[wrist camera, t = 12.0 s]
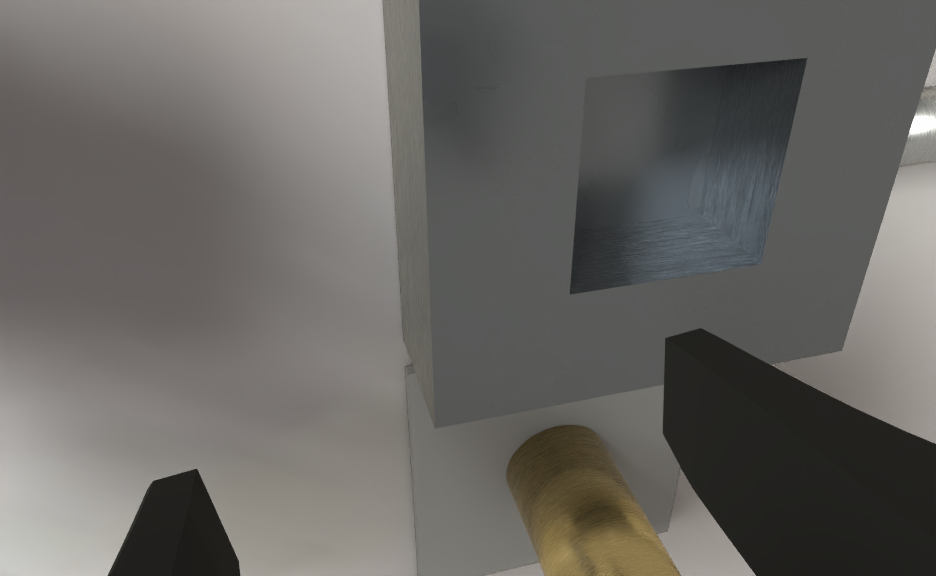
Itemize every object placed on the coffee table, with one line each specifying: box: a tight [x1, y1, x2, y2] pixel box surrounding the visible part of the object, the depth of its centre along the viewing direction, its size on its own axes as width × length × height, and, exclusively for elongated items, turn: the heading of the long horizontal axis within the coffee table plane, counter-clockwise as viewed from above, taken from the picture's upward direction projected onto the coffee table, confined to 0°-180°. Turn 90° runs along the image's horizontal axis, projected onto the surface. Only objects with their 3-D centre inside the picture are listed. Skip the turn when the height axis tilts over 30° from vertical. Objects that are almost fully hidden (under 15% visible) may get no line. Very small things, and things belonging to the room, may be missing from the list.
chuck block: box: [383, 0, 936, 429], centre depth 20 cm, size 20×12×4 cm, turn 90°
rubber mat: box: [405, 365, 680, 576], centre depth 27 cm, size 10×10×1 cm
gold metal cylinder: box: [506, 425, 681, 576], centre depth 24 cm, size 4×4×7 cm
